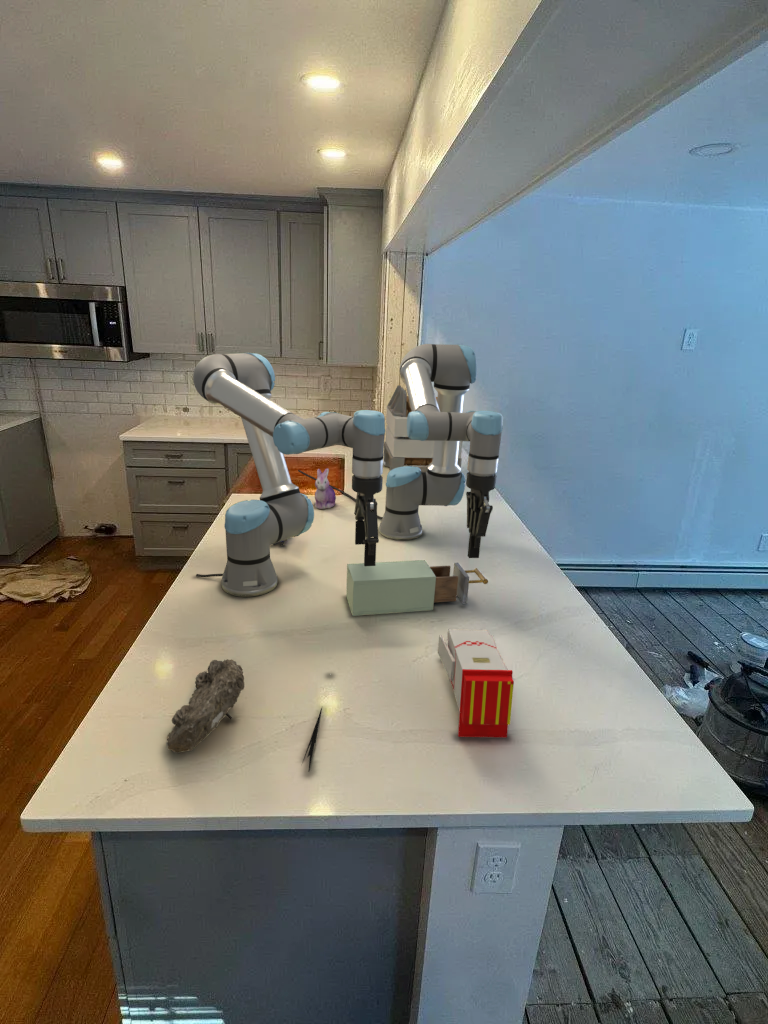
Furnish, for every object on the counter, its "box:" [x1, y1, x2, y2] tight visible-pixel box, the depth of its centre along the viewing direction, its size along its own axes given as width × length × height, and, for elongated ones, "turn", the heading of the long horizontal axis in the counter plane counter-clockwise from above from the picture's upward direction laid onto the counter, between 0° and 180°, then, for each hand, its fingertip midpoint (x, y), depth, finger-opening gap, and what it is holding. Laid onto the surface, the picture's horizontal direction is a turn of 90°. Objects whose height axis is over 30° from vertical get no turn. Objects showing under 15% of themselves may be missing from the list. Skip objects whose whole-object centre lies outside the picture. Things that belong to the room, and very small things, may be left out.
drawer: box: [429, 562, 489, 604], centre depth 154 cm, size 26×9×8 cm, turn 102°
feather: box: [301, 673, 332, 771], centre depth 108 cm, size 2×28×2 cm
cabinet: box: [345, 559, 436, 617], centre depth 151 cm, size 22×10×10 cm, turn 102°
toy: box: [437, 628, 515, 738], centre depth 117 cm, size 12×13×30 cm
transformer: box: [383, 384, 464, 471], centre depth 268 cm, size 34×33×41 cm
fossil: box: [166, 658, 245, 754], centre depth 106 cm, size 22×10×15 cm
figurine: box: [314, 467, 337, 510], centre depth 222 cm, size 9×10×15 cm
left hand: (364, 554), depth 146 cm, fingers open, 13 cm apart
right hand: (473, 556), depth 153 cm, fingers closed
